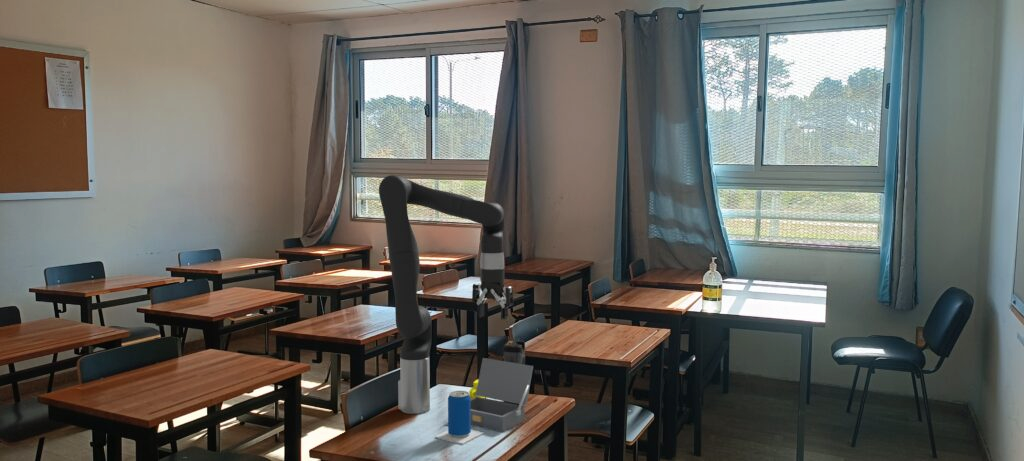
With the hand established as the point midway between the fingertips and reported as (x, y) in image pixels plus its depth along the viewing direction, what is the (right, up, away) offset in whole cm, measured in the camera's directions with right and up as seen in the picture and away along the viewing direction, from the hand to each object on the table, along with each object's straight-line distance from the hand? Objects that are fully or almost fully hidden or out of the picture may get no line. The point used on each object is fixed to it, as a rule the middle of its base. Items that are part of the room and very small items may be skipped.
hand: (492, 317), depth 226 cm
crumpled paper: (-6, -30, +12) cm, 33 cm away
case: (0, -31, -5) cm, 31 cm away
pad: (-9, -32, -19) cm, 38 cm away
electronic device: (+7, -30, +11) cm, 32 cm away
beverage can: (-9, -32, -19) cm, 38 cm away
